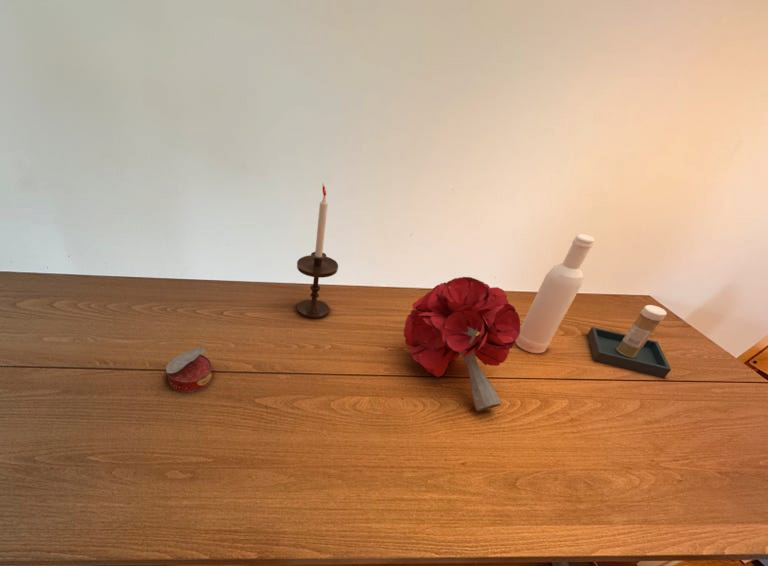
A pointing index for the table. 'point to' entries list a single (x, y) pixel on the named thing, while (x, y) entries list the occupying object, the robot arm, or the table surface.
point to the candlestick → (317, 269)
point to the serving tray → (645, 360)
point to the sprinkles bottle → (641, 330)
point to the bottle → (554, 298)
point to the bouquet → (463, 331)
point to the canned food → (189, 371)
